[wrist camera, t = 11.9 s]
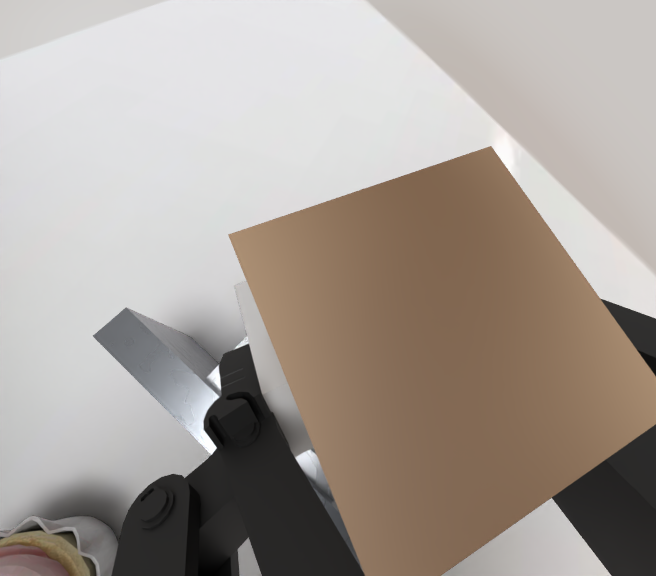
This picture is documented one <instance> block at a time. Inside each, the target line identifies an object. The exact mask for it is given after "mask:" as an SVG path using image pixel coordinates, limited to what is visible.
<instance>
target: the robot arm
mask: <svg viewBox="0 0 656 576" xmlns="http://www.w3.org/2000/svg"><path fill="white" fill-rule="evenodd" d="M234 287H235V291H236V295H237V299H238V303H239V307H240V311H241V315H242V318H243V322H244V326H245V330H246V334H247V338H248V342H249V344H246V345H244V346H242V347H239V348H237V349H235V350H232V351H230V352H228V353H225V354H224V355H223V357H222V360H221V362H220V364H219V374H220V384H221V395H222V396H220V397H219V398H218V399H217V400H215V401H214V403H213V404H212V405H211V406H210V408H209V409H208V410H207V412H206V415H205V417H204V420H203V424H204V431H205V432H206V433H207V435H208V436H209V438H210V439H211V440H212V442H213V443H214V445H215V446H216V447H217V448H216V450H215V451H214V452H213V454H212V455H211V456H210V457H209V458H208V459H207V460H206V461H205V462H204V463H202V464H201V465H200V466H199V467H198V468H196V469H195V470H194V471H193V472H192V473H190V474H189V475H188V476H187V477H186V478H184V477H183V476H182V475H176V474H171V475H167V476H164V477H161V478H159V479H158V480H156V481H155V482H153V483H152V484H150V485H149V486H148V487H147V488H146V489H145V490H144V491H143V492H142V493H141V494H140V495H139V496H138V497H137V498H136V500H135V501H134V503H133V504H132V506H131V507H130V509H129V510H128V513H127V515H126V518H125V521H124V523H123V527H122V531H121V535H120V540H119V544H118V549H117V553H116V557H115V562H114V566H113V570H112V575H111V576H239V563H238V548H239V547H240V546H241V545H242V544H243V543H244V542H245V540H246V539H247V538H248V537H249V539H250V542H251V545H252V548H253V551H254V554H255V557H256V560H257V563H258V565H259V568H260V571H261V574H262V576H365V574H364V573H363V571H362V569H361V568H360V566H359V564H358V562H357V561H356V559H355V557H354V556H353V554H352V552H351V551H350V549H349V547H348V546H347V544H346V542H345V541H344V539H343V537H342V536H341V534H340V532H339V531H338V529H337V527H336V526H335V524H334V522H333V521H332V519H331V517H330V515H329V514H328V512H327V510H326V509H325V507H324V505H323V504H322V502H321V500H320V499H319V497H318V495H317V494H316V492H315V490H314V489H313V487H312V485H311V484H310V482H309V480H308V479H307V477H306V475H305V474H304V472H303V470H302V468H301V467H300V465H299V463H298V462H297V460H296V458H295V457H297V456H298V455H300V454H302V453H304V452H306V451H308V450H310V449H312V448H314V447H313V445H312V442H311V440H310V437H309V435H308V432H307V430H306V427H305V425H304V422H303V420H302V417H301V415H300V412H299V410H298V407H297V405H296V402H295V400H294V397H293V395H292V392H291V390H290V387H289V385H288V382H287V380H286V377H285V375H284V372H283V370H282V367H281V365H280V362H279V360H278V357H277V355H276V352H275V350H274V347H273V345H272V342H271V340H270V337H269V335H268V332H267V330H266V327H265V325H264V322H263V320H262V317H261V315H260V312H259V310H258V308H257V305H256V303H255V300H254V298H253V295H252V293H251V290H250V288H249V285H248V283H247V281H244V282H242V283H239V284H236V285H234ZM601 301H602V302H603V303H604V305H605V306H606V308H607V309H608V310H609V312H610V313H611V315H612V316H613V317H614V319H615V320H616V322H617V323H618V324H619V326H620V327H621V329H622V330H623V331H624V333H625V334H626V336H627V337H628V338H629V340H630V341H631V343H632V344H633V345H634V347H635V348H636V350H637V351H638V352H639V354H640V355H641V357H642V358H643V359H644V361H645V362H646V364H647V365H648V366H649V368H650V369H651V371H652V372H653V373H654V375H655V376H656V319H655V318H652V317H650V316H647V315H644V314H641V313H639V312H636V311H633V310H630V309H628V308H625V307H622V306H619V305H617V304H614V303H611V302H608V301H606V300H603V299H601ZM552 499H553V500H554V501H555V502H556V504H557V505H558V506H559V508H560V509H561V510H562V512H563V513H564V514H565V516H566V517H567V518H568V519H569V521H570V522H571V523H572V525H573V526H574V527H575V529H576V530H577V531H578V532H579V534H580V535H581V536H582V538H583V539H584V540H585V542H586V543H587V544H588V546H589V547H590V548H591V549H592V551H593V552H594V553H595V555H596V556H597V557H598V559H599V560H600V561H601V562H602V564H603V565H604V566H605V568H606V569H607V570H608V572H609V573H610V574H611V576H656V424H655V425H654V426H653V427H651V428H650V429H648V430H647V431H645V432H644V433H643V434H641V435H640V436H638V437H637V438H636V439H634V440H633V441H631V442H630V443H628V444H627V445H626V446H624V447H623V448H621V449H620V450H618V451H617V452H616V453H614V454H613V455H611V456H610V457H609V458H607V459H606V460H604V461H603V462H601V463H600V464H599V465H597V466H596V467H594V468H593V469H591V470H590V471H589V472H587V473H586V474H584V475H583V476H582V477H580V478H579V479H577V480H576V481H574V482H573V483H572V484H570V485H569V486H567V487H566V488H565V489H563V490H562V491H560V492H559V493H557V494H556V495H555V496H553V497H552Z"/></svg>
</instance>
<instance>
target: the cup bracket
mask: <svg viewBox="0 0 656 576" xmlns="http://www.w3.org/2000/svg"><path fill="white" fill-rule="evenodd" d="M93 337H94V338H95V339H96V340H97V341H98V342H99V343H100V344H101V345H102V346H103V347H104V348H105V349H106V350H107V351H108V352H109V353H110V354H111V355H112V356H113V357H114V358H115V359H116V360H117V361H118V362H119V363H120V364H121V365H122V366H123V367H124V368H125V369H126V370H127V371H128V372H129V373H130V374H131V375H132V376H133V377H134V378H135V379H136V380H137V381H138V382H139V383H140V384H141V385H142V386H143V387H144V388H145V389H146V390H147V391H148V392H149V393H150V394H151V395H152V396H153V397H154V398H155V399H156V400H157V401H158V402H159V403H160V404H161V405H162V406H163V407H164V408H165V409H166V410H167V411H168V412H169V413H170V414H171V415H172V416H173V417H174V418H175V419H176V420H177V421H178V422H179V423H180V424H181V425H182V426H183V427H184V428H185V429H186V430H187V431H188V432H189V433H190V434H191V435H192V436H193V437H194V438H195V439H196V440H197V441H198V442H199V443H200V444H201V445H202V446H203V447H204V448H205V449H206V450H207V451H208V452H209V453H210V454H211V455H212V454H213V452H214V451H215V450H216V448H217V447H216V446H215V445H214V443H213V442H212V440H211V439H210V438H209V436H208V435H207V433H206V432H205V431H204V424H203V420H204V417H205V415H206V412H207V410H208V409H209V408H210V406H211V405H212V404H213V403H214V401H215V400H217V399H218V398H219V397H220V396H222V395H221V384H220V374H219V364H218V363H217V362H216V361H215V360H214V359H213V358H212V357H211V356H210V355H209V354H208V353H207V352H206V351H205V350H203V349H202V348H201V347H200V346H199V345H198V344H197V343H196V342H195V341H194V340H193V339H192V338H191V337H190V336H188V335H186V334H183V333H181V332H179V331H177V330H175V329H172V328H170V327H168V326H166V325H164V324H161V323H159V322H157V321H155V320H153V319H150V318H148V317H146V316H144V315H142V314H139V313H137V312H135V311H133V310H131V309H128V308H125V309H124V310H123V311H122V312H120V313H119V314H118V315H117V316H116V317H115V318H113V319H112V320H111V321H110V322H109V323H108V324H106V325H105V326H104V327H103V328H102V329H100V330H99V331H98V332H97V333H96V334H95V335H93ZM246 344H249V342H248V338H247V336H246V337H245V338H244V339H243V340H242V341H241V342H240V343H239V345H238V346H237V347H236V348H235V349H237V348H239V347H242V346H244V345H246ZM235 349H234V350H235ZM295 458H296V460H297V462H298V463H299V465H300V467H301V468H302V470H303V472H304V474H305V475H306V477H307V479H308V480H309V482H310V484H311V485H312V487H313V489H314V490H315V492H316V494H317V495H318V497H319V499H320V500H321V502H322V504H323V505H324V507H325V509H326V510H327V512H328V514H329V515H330V517H331V519H332V521H333V522H334V524H335V526H336V527H337V529H338V531H339V532H340V534H341V536H342V537H343V539H344V541H345V542H346V544H347V546H348V547H349V549H350V551H351V552H352V554H353V556H354V557H355V559H356V561H357V562H358V564H359V566H360V568H361V569H362V567H361V564H360V562H359V559H358V557H357V554H356V552H355V549H354V547H353V544H352V542H351V539H350V537H349V534H348V532H347V529H346V527H345V524H344V522H343V519H342V517H341V514H340V512H339V509H338V507H337V504H336V502H335V499H334V497H333V494H332V492H331V489H330V487H329V484H328V482H327V479H326V477H325V474H324V472H323V469H322V467H321V465H320V462H319V460H318V457H317V455H316V452H315V450H314V448H312V449H310V450H308V451H306V452H304V453H302V454H300V455H298V456H297V457H295ZM362 571H363V569H362ZM363 573H364V572H363Z"/></svg>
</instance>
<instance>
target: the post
mask: <svg viewBox="0 0 656 576" xmlns="http://www.w3.org/2000/svg"><path fill="white" fill-rule="evenodd" d="M229 238H230V240H231V243H232V245H233V248H234V250H235V253H236V255H237V258H238V260H239V263H240V265H241V268H242V270H243V273H244V275H245V278H246V280H247V283H248V285H249V288H250V290H251V293H252V295H253V298H254V300H255V303H256V305H257V308H258V310H259V312H260V315H261V317H262V320H263V322H264V325H265V327H266V330H267V332H268V335H269V337H270V340H271V342H272V345H273V347H274V350H275V352H276V355H277V357H278V360H279V362H280V365H281V367H282V370H283V372H284V375H285V377H286V380H287V382H288V385H289V387H290V390H291V392H292V395H293V397H294V400H295V402H296V405H297V407H298V410H299V412H300V415H301V417H302V420H303V422H304V425H305V427H306V430H307V432H308V435H309V437H310V440H311V442H312V445H313V447H314V450H315V452H316V455H317V457H318V460H319V462H320V465H321V467H322V469H323V472H324V474H325V477H326V479H327V482H328V484H329V487H330V489H331V492H332V494H333V497H334V499H335V502H336V504H337V507H338V509H339V512H340V514H341V517H342V519H343V522H344V524H345V527H346V529H347V532H348V534H349V537H350V539H351V542H352V544H353V547H354V549H355V552H356V554H357V557H358V559H359V562H360V564H361V567H362V569H363V572H364V574H365V576H441V575H442V574H444V573H445V572H447V571H448V570H450V569H451V568H452V567H454V566H455V565H457V564H458V563H459V562H461V561H462V560H464V559H465V558H467V557H468V556H469V555H471V554H472V553H474V552H475V551H476V550H478V549H479V548H481V547H482V546H484V545H485V544H486V543H488V542H489V541H491V540H492V539H494V538H495V537H496V536H498V535H499V534H501V533H502V532H503V531H505V530H506V529H508V528H509V527H511V526H512V525H513V524H515V523H516V522H518V521H519V520H520V519H522V518H523V517H525V516H526V515H528V514H529V513H530V512H532V511H533V510H535V509H536V508H538V507H539V506H540V505H542V504H543V503H545V502H546V501H547V500H549V499H550V498H552V497H553V496H555V495H556V494H557V493H559V492H560V491H562V490H563V489H565V488H566V487H567V486H569V485H570V484H572V483H573V482H574V481H576V480H577V479H579V478H580V477H582V476H583V475H584V474H586V473H587V472H589V471H590V470H591V469H593V468H594V467H596V466H597V465H599V464H600V463H601V462H603V461H604V460H606V459H607V458H609V457H610V456H611V455H613V454H614V453H616V452H617V451H618V450H620V449H621V448H623V447H624V446H626V445H627V444H628V443H630V442H631V441H633V440H634V439H636V438H637V437H638V436H640V435H641V434H643V433H644V432H645V431H647V430H648V429H650V428H651V427H653V426H654V425H655V424H656V376H655V375H654V373H653V372H652V371H651V369H650V368H649V366H648V365H647V364H646V362H645V361H644V359H643V358H642V357H641V355H640V354H639V352H638V351H637V350H636V348H635V347H634V345H633V344H632V343H631V341H630V340H629V338H628V337H627V336H626V334H625V333H624V331H623V330H622V329H621V327H620V326H619V324H618V323H617V322H616V320H615V319H614V317H613V316H612V315H611V313H610V312H609V310H608V309H607V308H606V306H605V305H604V303H603V302H602V301H601V299H600V298H599V296H598V295H597V294H596V292H595V291H594V289H593V288H592V287H591V285H590V284H589V282H588V281H587V280H586V278H585V277H584V275H583V274H582V273H581V271H580V270H579V268H578V267H577V266H576V264H575V263H574V261H573V260H572V259H571V257H570V256H569V254H568V253H567V252H566V250H565V249H564V248H563V246H562V245H561V243H560V242H559V241H558V239H557V238H556V236H555V235H554V234H553V232H552V231H551V229H550V228H549V227H548V225H547V224H546V222H545V221H544V220H543V218H542V217H541V215H540V214H539V213H538V211H537V210H536V208H535V207H534V206H533V204H532V203H531V201H530V200H529V199H528V197H527V196H526V194H525V193H524V192H523V190H522V189H521V187H520V186H519V185H518V183H517V182H516V180H515V179H514V178H513V176H512V175H511V173H510V172H509V171H508V169H507V168H506V166H505V165H504V164H503V162H502V161H501V159H500V158H499V157H498V155H497V154H496V152H495V151H494V150H493V148H492V147H491V146H490V147H487V148H484V149H481V150H478V151H475V152H472V153H469V154H466V155H463V156H460V157H457V158H454V159H451V160H448V161H446V162H443V163H440V164H437V165H434V166H431V167H428V168H425V169H422V170H419V171H416V172H413V173H410V174H407V175H404V176H401V177H398V178H395V179H392V180H389V181H386V182H383V183H380V184H377V185H374V186H371V187H368V188H365V189H362V190H359V191H356V192H354V193H351V194H348V195H345V196H342V197H339V198H336V199H333V200H330V201H327V202H324V203H321V204H318V205H315V206H312V207H309V208H306V209H303V210H300V211H297V212H294V213H291V214H288V215H285V216H282V217H279V218H276V219H273V220H270V221H267V222H264V223H262V224H259V225H256V226H253V227H250V228H247V229H244V230H241V231H238V232H235V233H232V234H229Z"/></svg>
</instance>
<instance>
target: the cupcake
mask: <svg viewBox="0 0 656 576" xmlns="http://www.w3.org/2000/svg"><path fill="white" fill-rule="evenodd" d="M117 549H118V541H117V538H116V536H115V534H114V532H113V530H112V529H111V528H110V527H109V526H108V525H106V524H105V523H104V522H102V521H100V520H98V519H96V518H93V517H90V516H74V517H68V518H63V519H59V520H55V521H51V520H48V519H44V518H41V517H37V516H34V515H32V516H30V517H28V518H26V519H25V520H24V521H22V522H21V523H20V524H19V525H17V526H16V527H15V528H14V529H12V530H7V531H0V576H111V575H112V570H113V566H114V562H115V557H116V553H117Z"/></svg>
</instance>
